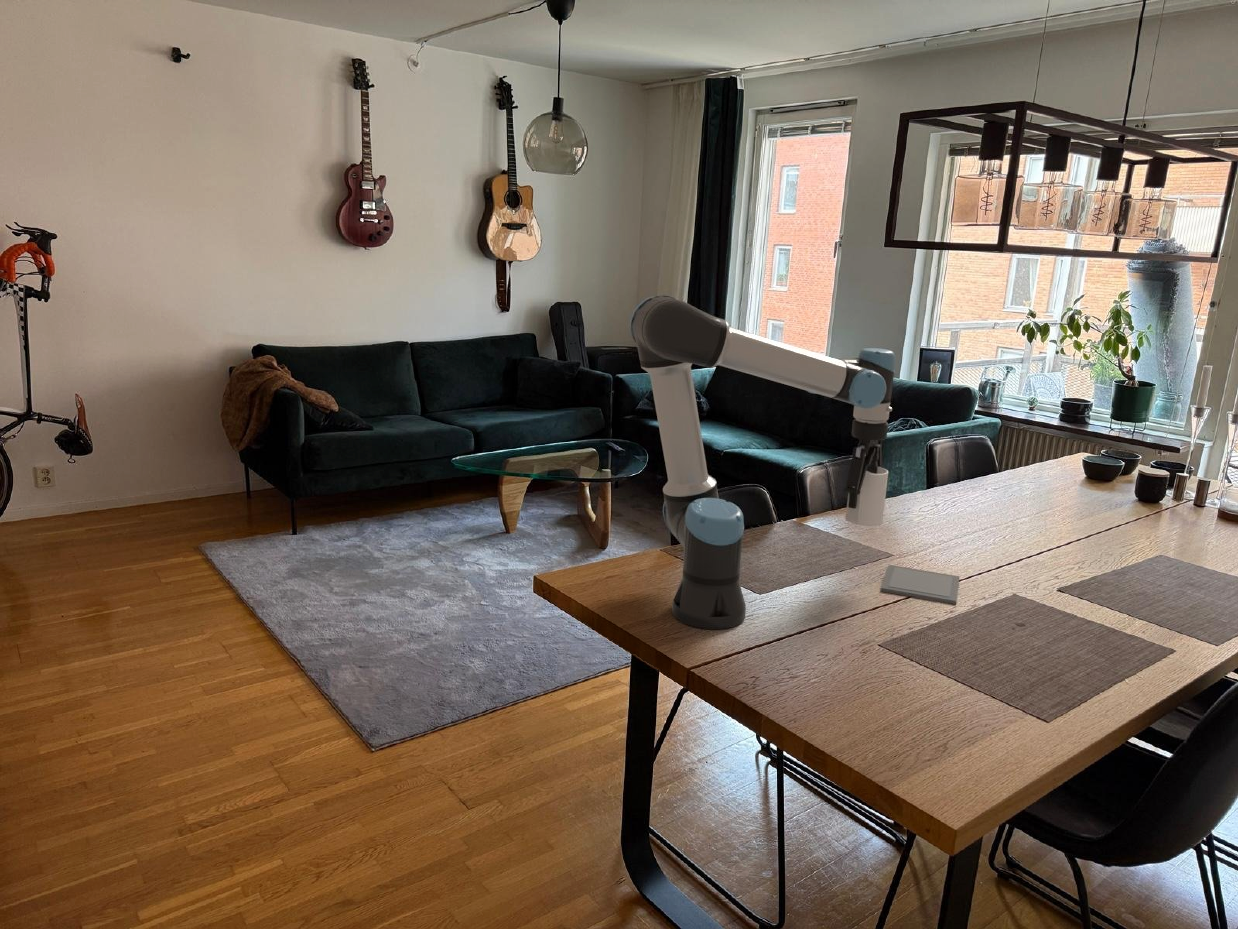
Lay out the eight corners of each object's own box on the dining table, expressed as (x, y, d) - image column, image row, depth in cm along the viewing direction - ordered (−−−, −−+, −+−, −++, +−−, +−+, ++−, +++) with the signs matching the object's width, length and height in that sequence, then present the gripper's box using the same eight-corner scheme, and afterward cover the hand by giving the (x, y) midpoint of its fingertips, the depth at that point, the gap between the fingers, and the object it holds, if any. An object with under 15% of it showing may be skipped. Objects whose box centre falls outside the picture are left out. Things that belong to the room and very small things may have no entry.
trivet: (956, 604, 193) (956, 600, 193) (880, 591, 199) (880, 587, 199) (959, 579, 207) (959, 576, 207) (888, 567, 213) (888, 564, 213)
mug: (859, 531, 193) (865, 478, 190) (828, 521, 200) (833, 469, 197) (891, 522, 201) (897, 471, 197) (860, 512, 207) (865, 462, 204)
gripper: (871, 431, 182) (860, 531, 188) (902, 413, 202) (892, 505, 207) (835, 426, 186) (826, 524, 192) (870, 409, 206) (860, 499, 211)
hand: (860, 514), depth 200 cm, fingers closed on mug, 11 cm apart
